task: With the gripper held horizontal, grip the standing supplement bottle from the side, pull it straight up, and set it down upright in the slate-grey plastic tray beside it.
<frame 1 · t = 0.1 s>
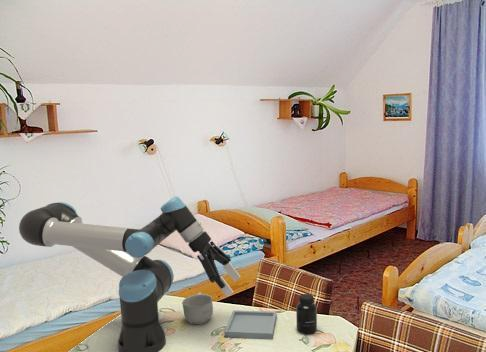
hand: (234, 286, 149), 15 cm above the table, tool tilted 35°, fingers open, 13 cm apart
teacup: (199, 318, 161), on the table
tray: (251, 326, 152), on the table
supplement bottle: (306, 330, 148), on the table
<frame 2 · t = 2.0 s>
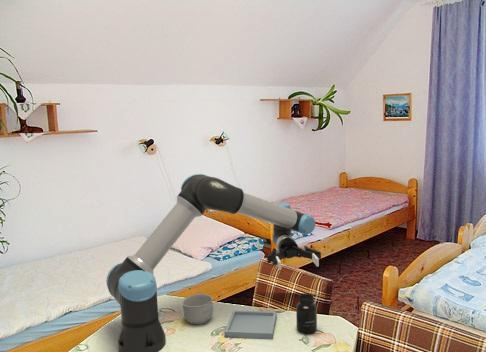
hand: (299, 264, 155), 20 cm above the table, tool horizontal, fingers open, 13 cm apart
nothing on the table moved.
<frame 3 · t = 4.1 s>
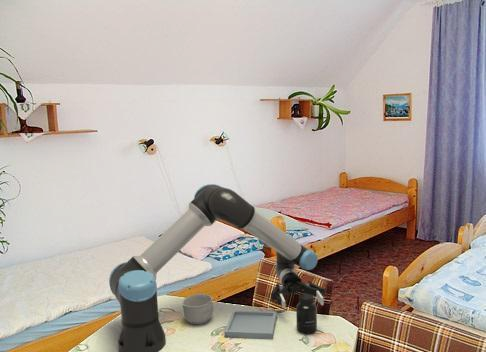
hand: (303, 303, 153), 7 cm above the table, tool horizontal, fingers open, 13 cm apart
nothing on the table moved.
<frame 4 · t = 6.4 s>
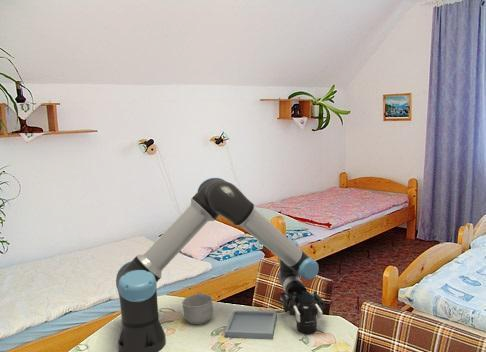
hand: (310, 317, 142), 7 cm above the table, tool horizontal, fingers closed on supplement bottle, 7 cm apart
supplement bottle: (306, 330, 148), on the table, touching gripper
everything else where it was.
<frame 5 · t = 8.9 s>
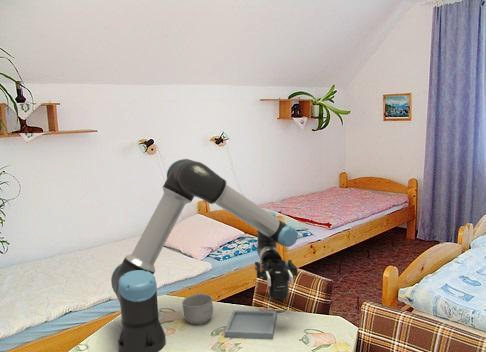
hand: (280, 281, 143), 19 cm above the table, tool horizontal, fingers closed on supplement bottle, 7 cm apart
supplement bottle: (279, 296, 149), point 11 cm above the table, touching gripper
everything else where it was.
when the fingers open (9 cm above the table, at t = 11.7 s): supplement bottle drops 1 cm, resting on tray.
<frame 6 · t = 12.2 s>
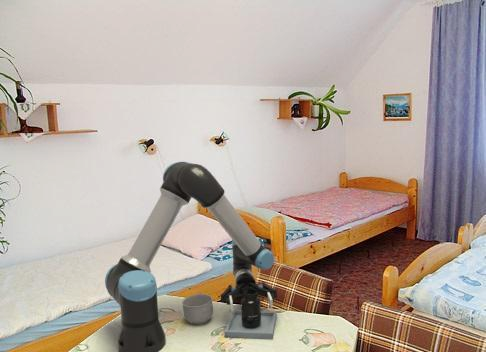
hand: (251, 305, 148), 9 cm above the table, tool horizontal, fingers open, 13 cm apart
supplement bottle: (251, 324, 152), point 1 cm above the table, touching tray
everything else where it was.
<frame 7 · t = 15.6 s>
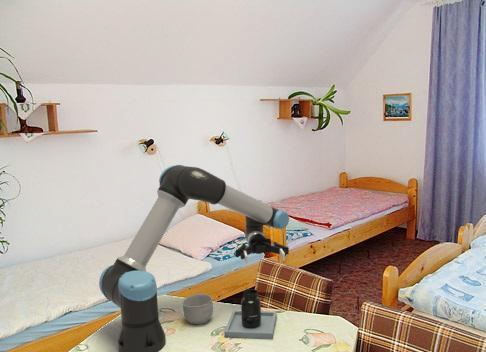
hand: (265, 258, 158), 21 cm above the table, tool horizontal, fingers open, 13 cm apart
nothing on the table moved.
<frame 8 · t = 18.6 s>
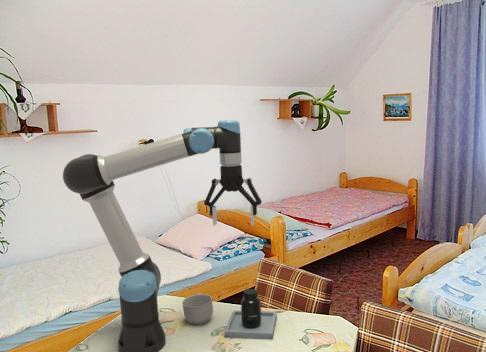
hand: (233, 224, 155), 35 cm above the table, tool pointing down, fingers open, 13 cm apart
nothing on the table moved.
at the end: supplement bottle inside the target area on the tray (0.2 cm from its centre), point 0.6 cm above the tray's base; supplement bottle tilted 0°; the gripper is holding nothing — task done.
